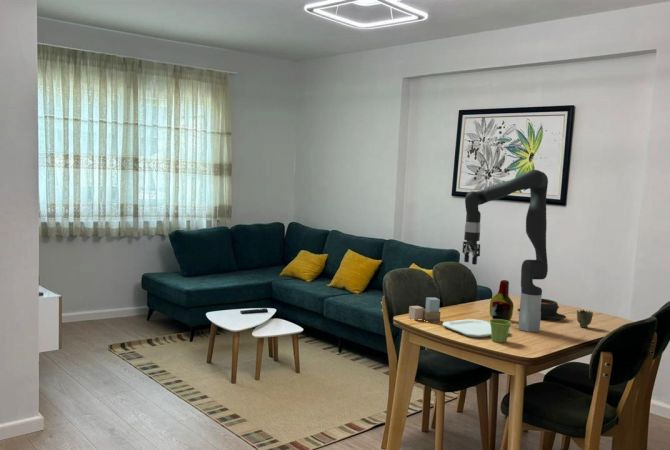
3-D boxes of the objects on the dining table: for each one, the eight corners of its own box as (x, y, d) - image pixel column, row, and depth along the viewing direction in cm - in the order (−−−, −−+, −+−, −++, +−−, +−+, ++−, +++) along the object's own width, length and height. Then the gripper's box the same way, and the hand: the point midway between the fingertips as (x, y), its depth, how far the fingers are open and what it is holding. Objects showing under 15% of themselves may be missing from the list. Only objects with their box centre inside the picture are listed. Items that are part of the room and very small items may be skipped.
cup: (583, 325, 302) (585, 309, 301) (595, 329, 295) (596, 312, 295) (572, 325, 299) (573, 309, 299) (583, 329, 292) (584, 313, 292)
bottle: (514, 320, 303) (517, 281, 302) (508, 322, 299) (511, 282, 297) (493, 316, 312) (496, 277, 310) (486, 317, 307) (489, 278, 305)
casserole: (572, 319, 314) (573, 303, 314) (555, 324, 301) (557, 307, 301) (527, 310, 332) (528, 294, 331) (510, 314, 319) (511, 298, 318)
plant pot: (484, 341, 261) (486, 321, 261) (491, 336, 269) (493, 317, 269) (506, 345, 256) (507, 325, 256) (512, 341, 264) (514, 321, 263)
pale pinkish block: (422, 320, 295) (423, 308, 294) (414, 320, 292) (415, 308, 292) (417, 317, 299) (417, 305, 298) (408, 318, 297) (409, 306, 296)
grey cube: (438, 312, 292) (439, 299, 292) (429, 312, 291) (430, 299, 290) (434, 309, 297) (435, 297, 296) (425, 309, 296) (426, 297, 295)
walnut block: (439, 322, 292) (440, 312, 291) (425, 322, 290) (426, 312, 290) (434, 319, 298) (435, 309, 298) (421, 319, 297) (421, 308, 297)
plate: (437, 326, 284) (437, 322, 284) (477, 322, 296) (478, 318, 296) (472, 340, 262) (472, 335, 262) (514, 336, 274) (515, 331, 274)
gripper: (486, 232, 299) (483, 265, 300) (472, 230, 312) (470, 261, 313) (472, 232, 297) (470, 265, 298) (459, 229, 310) (457, 261, 312)
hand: (470, 263), depth 306 cm, fingers open, 8 cm apart
